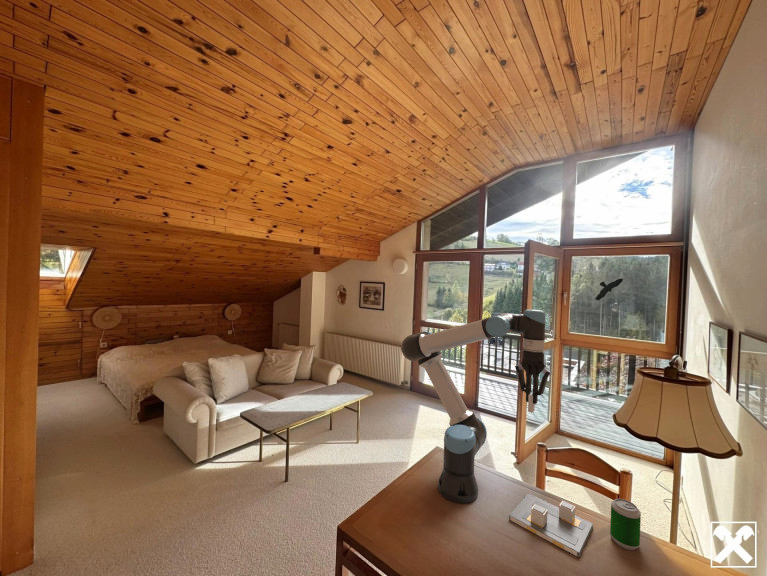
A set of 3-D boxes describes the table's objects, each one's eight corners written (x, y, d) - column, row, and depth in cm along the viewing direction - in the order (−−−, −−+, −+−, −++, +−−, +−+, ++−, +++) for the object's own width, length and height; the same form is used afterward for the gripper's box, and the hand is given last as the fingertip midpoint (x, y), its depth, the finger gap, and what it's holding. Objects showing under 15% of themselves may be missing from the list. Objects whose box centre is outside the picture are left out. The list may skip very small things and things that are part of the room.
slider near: (530, 520, 107) (531, 507, 107) (534, 515, 109) (535, 503, 109) (543, 527, 104) (543, 514, 104) (547, 521, 106) (547, 509, 106)
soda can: (645, 554, 97) (646, 515, 97) (617, 549, 98) (618, 510, 98) (631, 535, 104) (632, 498, 104) (605, 531, 106) (606, 495, 106)
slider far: (558, 516, 109) (559, 504, 109) (561, 512, 111) (562, 499, 111) (571, 523, 106) (572, 510, 106) (574, 518, 109) (575, 505, 109)
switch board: (508, 520, 109) (508, 515, 109) (528, 497, 122) (528, 492, 122) (578, 558, 95) (578, 552, 95) (592, 528, 107) (592, 522, 107)
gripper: (512, 348, 125) (510, 408, 125) (548, 354, 115) (545, 419, 116) (520, 346, 130) (518, 404, 130) (554, 351, 121) (552, 413, 121)
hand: (531, 411), depth 123 cm, fingers closed
